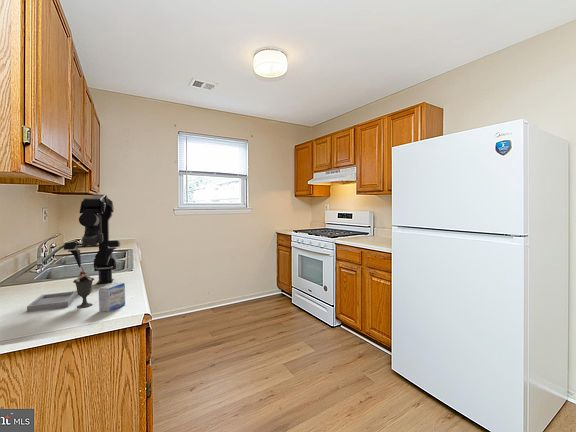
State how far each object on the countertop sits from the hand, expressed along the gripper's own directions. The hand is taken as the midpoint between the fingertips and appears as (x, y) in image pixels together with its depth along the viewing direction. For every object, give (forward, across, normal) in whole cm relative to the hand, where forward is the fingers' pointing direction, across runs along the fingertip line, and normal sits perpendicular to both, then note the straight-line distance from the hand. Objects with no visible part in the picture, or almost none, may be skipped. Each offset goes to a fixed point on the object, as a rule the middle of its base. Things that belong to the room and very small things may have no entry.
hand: (93, 266), depth 117 cm
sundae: (+15, -2, -7) cm, 16 cm away
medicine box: (+16, +8, -14) cm, 22 cm away
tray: (+13, -13, +2) cm, 19 cm away
